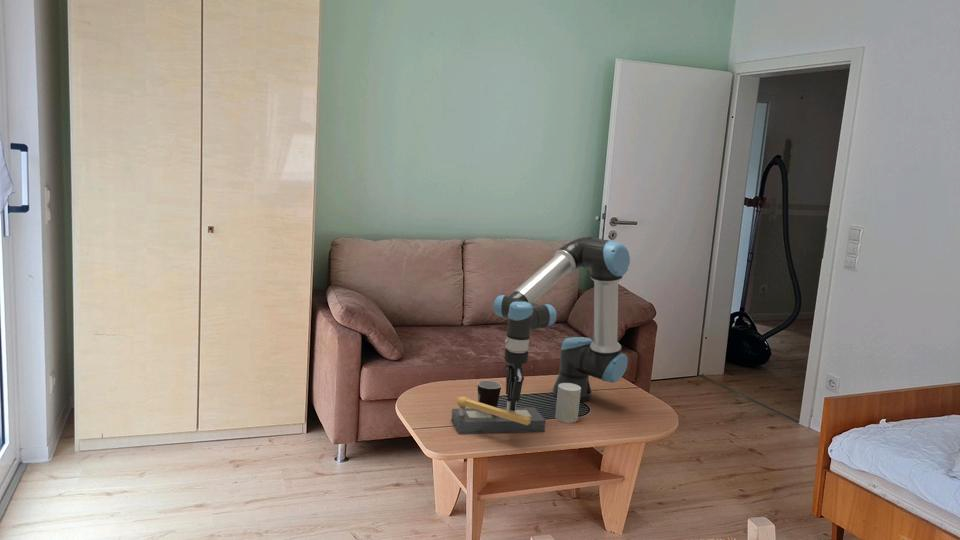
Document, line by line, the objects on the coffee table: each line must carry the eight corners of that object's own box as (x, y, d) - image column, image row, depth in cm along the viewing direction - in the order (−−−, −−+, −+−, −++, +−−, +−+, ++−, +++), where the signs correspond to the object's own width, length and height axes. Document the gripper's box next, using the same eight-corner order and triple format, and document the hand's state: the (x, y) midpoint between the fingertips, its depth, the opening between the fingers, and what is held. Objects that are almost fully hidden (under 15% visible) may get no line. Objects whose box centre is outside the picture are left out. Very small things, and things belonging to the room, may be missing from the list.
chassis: (533, 417, 260) (535, 398, 259) (544, 431, 249) (546, 410, 248) (451, 419, 253) (453, 399, 252) (458, 433, 241) (460, 412, 240)
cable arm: (455, 404, 246) (455, 398, 245) (461, 401, 249) (461, 395, 248) (525, 426, 232) (526, 420, 231) (531, 423, 235) (531, 416, 234)
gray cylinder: (563, 424, 257) (566, 391, 255) (550, 415, 264) (553, 383, 262) (582, 421, 261) (585, 389, 259) (569, 413, 268) (572, 382, 266)
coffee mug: (496, 416, 259) (499, 390, 257) (473, 413, 260) (475, 386, 258) (502, 405, 270) (504, 380, 268) (479, 402, 271) (481, 376, 270)
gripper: (500, 343, 241) (494, 411, 245) (511, 355, 228) (504, 426, 233) (522, 343, 242) (515, 410, 247) (533, 356, 230) (527, 426, 234)
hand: (510, 418), depth 240 cm, fingers closed
